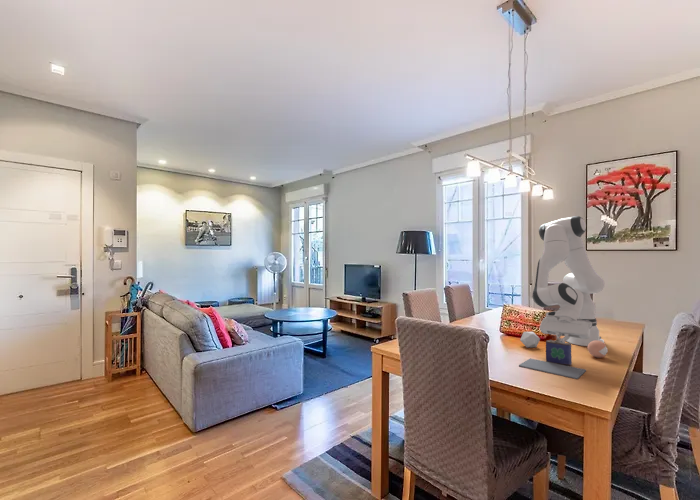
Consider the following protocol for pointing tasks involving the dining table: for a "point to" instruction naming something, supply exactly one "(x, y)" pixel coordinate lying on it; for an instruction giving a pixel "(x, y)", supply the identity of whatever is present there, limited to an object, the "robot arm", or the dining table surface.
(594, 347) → the toy ball
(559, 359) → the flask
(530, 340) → the die
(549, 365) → the mat
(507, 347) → the dining table surface
